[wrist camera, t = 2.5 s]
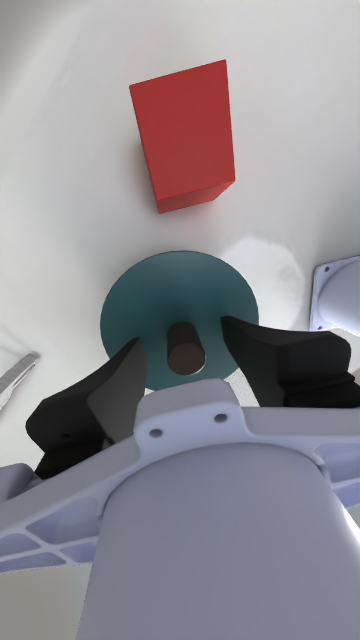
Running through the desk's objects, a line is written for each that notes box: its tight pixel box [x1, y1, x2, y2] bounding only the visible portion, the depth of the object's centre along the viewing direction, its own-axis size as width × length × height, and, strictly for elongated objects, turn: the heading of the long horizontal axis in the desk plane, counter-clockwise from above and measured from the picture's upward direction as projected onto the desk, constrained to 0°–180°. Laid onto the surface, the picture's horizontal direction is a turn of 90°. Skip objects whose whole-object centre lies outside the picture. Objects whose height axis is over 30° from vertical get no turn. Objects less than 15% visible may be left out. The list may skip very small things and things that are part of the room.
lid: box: [100, 251, 259, 391], centre depth 12 cm, size 12×12×4 cm
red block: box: [129, 59, 235, 214], centre depth 12 cm, size 5×5×5 cm
